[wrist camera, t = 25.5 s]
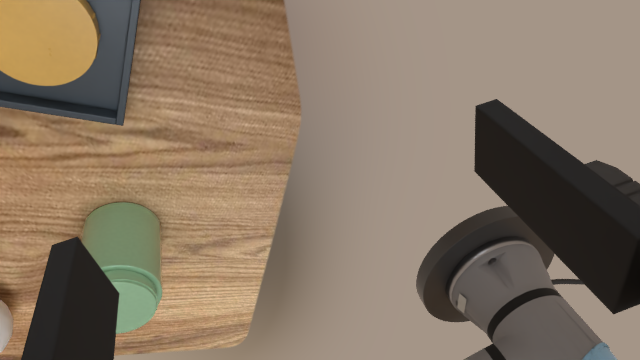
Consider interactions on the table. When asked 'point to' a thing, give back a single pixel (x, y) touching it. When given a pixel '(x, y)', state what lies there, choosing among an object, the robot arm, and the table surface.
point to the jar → (128, 258)
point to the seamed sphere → (5, 325)
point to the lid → (47, 40)
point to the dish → (88, 73)
